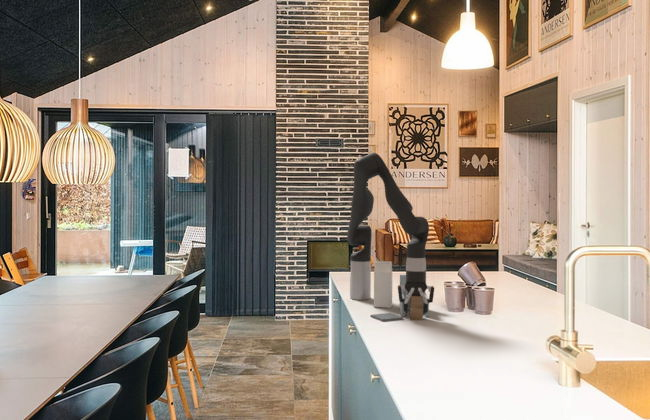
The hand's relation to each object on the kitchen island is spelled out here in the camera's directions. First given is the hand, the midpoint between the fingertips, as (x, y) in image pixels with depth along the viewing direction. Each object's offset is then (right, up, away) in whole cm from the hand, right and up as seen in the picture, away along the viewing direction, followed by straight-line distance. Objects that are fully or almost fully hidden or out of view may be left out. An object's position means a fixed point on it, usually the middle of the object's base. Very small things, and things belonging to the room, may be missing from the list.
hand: (415, 313), depth 215 cm
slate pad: (-11, -2, +1) cm, 11 cm away
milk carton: (-10, -2, +25) cm, 27 cm away
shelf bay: (+1, -2, +11) cm, 11 cm away
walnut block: (0, -2, 0) cm, 2 cm away
